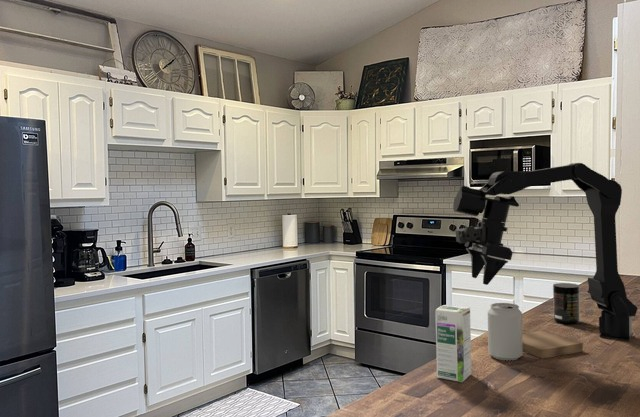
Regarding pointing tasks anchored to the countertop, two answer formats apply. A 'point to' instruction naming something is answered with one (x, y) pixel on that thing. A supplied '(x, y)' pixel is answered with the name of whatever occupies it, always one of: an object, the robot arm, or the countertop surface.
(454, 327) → the syrup box
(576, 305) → the supplement container
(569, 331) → the countertop surface
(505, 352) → the can
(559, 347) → the tan board
